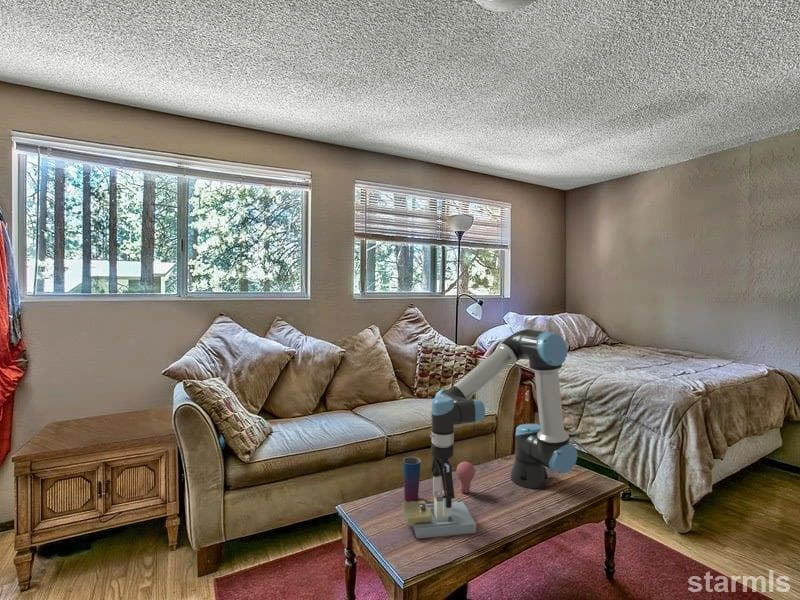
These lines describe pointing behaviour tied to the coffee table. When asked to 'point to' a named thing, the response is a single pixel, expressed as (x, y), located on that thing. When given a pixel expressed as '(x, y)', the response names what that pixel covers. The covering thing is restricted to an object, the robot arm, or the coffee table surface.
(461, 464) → the light bulb
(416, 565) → the coffee table surface
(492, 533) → the coffee table surface
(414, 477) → the cup
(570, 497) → the coffee table surface
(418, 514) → the panel
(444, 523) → the socket board
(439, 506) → the plug
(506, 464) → the coffee table surface
